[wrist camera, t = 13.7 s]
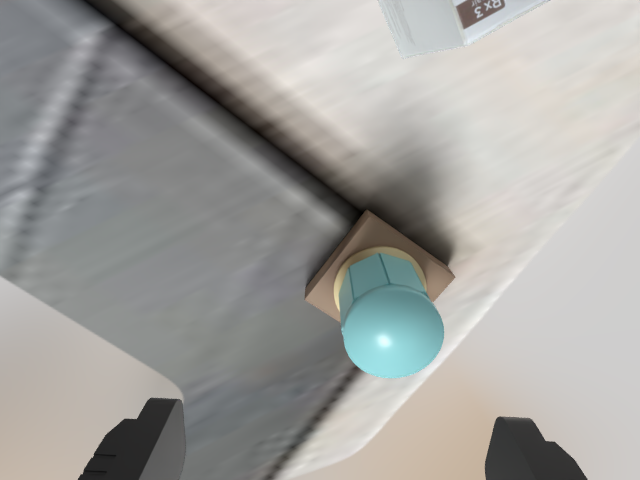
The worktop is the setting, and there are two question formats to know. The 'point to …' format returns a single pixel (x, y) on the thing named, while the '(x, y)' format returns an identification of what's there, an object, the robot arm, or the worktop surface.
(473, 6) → the skincare box
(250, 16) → the worktop surface
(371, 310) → the cap
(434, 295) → the board
